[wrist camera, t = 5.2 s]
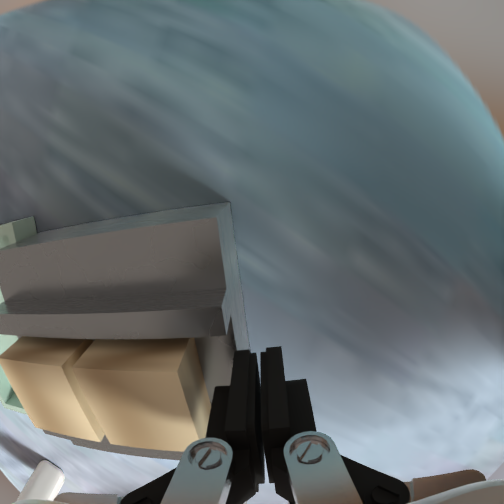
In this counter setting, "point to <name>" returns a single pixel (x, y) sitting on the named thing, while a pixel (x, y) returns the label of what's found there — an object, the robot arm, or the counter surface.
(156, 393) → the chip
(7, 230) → the tray
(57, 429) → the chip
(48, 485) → the eye dropper bottle
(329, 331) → the counter surface
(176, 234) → the grey ridged block
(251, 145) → the counter surface
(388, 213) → the counter surface
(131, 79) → the counter surface
